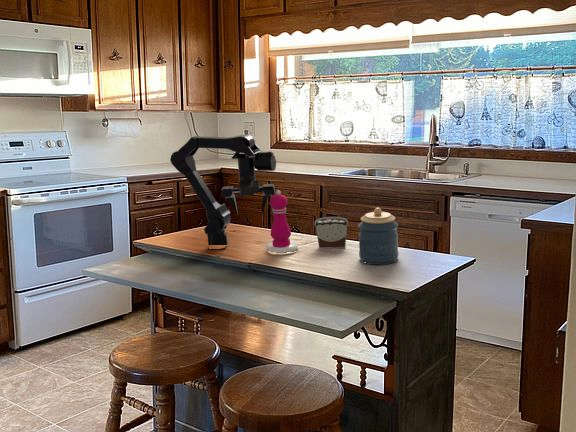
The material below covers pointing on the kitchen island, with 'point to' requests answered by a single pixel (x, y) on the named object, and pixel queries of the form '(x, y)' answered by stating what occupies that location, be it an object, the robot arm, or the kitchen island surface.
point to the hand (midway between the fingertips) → (249, 214)
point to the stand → (283, 248)
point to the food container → (331, 232)
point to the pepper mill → (280, 221)
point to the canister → (378, 238)
